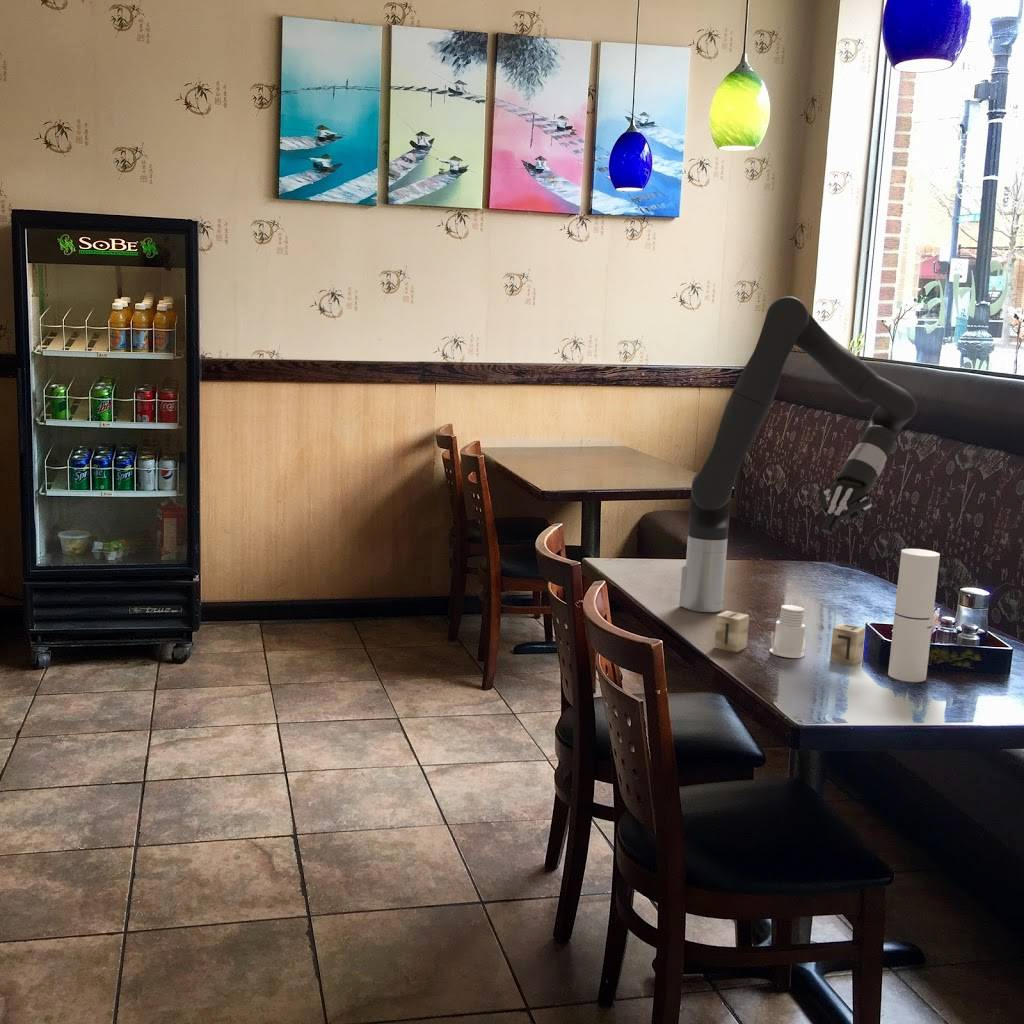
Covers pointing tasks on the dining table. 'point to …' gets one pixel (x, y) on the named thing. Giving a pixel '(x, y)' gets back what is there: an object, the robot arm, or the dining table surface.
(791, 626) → the downlight
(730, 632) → the birch block one
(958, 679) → the dining table surface
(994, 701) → the dining table surface
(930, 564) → the cylindrical container
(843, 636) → the birch block seven
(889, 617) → the dining table surface
